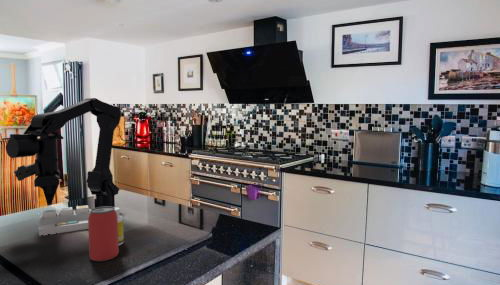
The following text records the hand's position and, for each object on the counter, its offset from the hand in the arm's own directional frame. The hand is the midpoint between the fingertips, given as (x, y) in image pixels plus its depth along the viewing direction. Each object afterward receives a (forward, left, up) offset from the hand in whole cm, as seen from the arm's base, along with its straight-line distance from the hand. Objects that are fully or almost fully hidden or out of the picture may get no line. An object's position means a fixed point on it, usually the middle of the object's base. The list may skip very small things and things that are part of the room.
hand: (49, 204), depth 104 cm
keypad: (-5, 0, -8) cm, 9 cm away
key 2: (-9, 0, -4) cm, 10 cm away
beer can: (-12, +33, -8) cm, 36 cm away
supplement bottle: (-15, +25, -8) cm, 30 cm away
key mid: (-5, 0, -4) cm, 6 cm away
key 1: (0, 0, -4) cm, 4 cm away
